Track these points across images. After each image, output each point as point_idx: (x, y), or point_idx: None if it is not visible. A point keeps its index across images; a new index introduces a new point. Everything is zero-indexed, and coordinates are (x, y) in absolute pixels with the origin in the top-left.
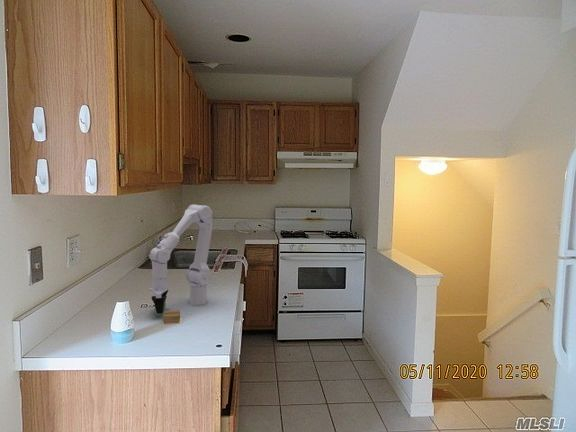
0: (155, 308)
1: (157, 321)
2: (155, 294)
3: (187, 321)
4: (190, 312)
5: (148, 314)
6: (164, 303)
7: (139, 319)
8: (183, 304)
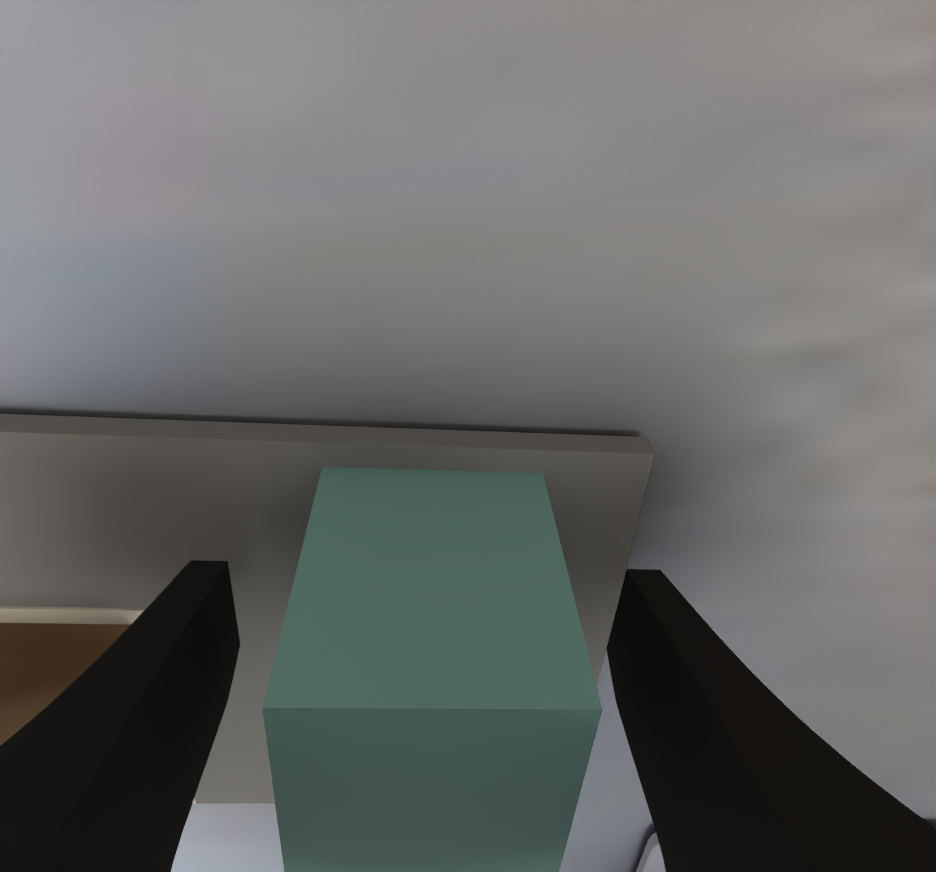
0: (298, 592)
1: None
2: (819, 870)
3: None
4: None
5: (563, 303)
6: (286, 857)
7: (238, 102)
8: None
